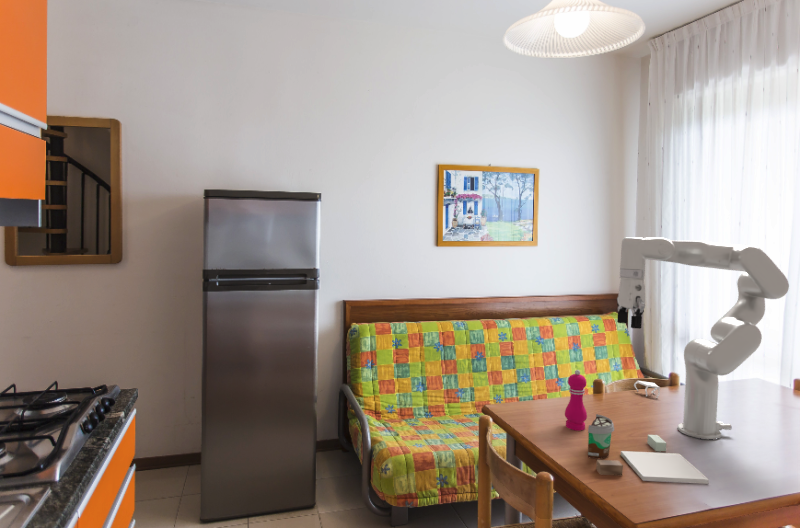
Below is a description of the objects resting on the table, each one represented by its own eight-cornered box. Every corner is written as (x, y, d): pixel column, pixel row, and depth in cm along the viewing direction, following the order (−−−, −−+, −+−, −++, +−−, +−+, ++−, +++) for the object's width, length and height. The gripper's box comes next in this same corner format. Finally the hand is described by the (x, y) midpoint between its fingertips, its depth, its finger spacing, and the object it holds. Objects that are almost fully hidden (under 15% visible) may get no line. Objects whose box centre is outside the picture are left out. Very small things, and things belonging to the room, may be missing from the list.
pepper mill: (588, 432, 168) (590, 373, 167) (565, 430, 169) (567, 371, 168) (584, 424, 175) (587, 368, 174) (563, 422, 176) (565, 366, 175)
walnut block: (618, 471, 140) (618, 460, 140) (622, 476, 137) (622, 465, 137) (596, 470, 141) (596, 459, 141) (599, 475, 138) (600, 464, 138)
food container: (609, 464, 144) (610, 430, 144) (586, 459, 147) (588, 425, 147) (616, 449, 155) (617, 417, 154) (595, 444, 158) (596, 413, 157)
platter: (679, 457, 150) (679, 453, 149) (708, 483, 134) (708, 479, 134) (620, 454, 151) (620, 450, 151) (643, 480, 135) (643, 476, 135)
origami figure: (665, 395, 210) (666, 384, 210) (658, 400, 204) (659, 388, 204) (635, 389, 218) (636, 378, 218) (628, 393, 212) (628, 381, 212)
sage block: (647, 443, 160) (647, 434, 160) (657, 444, 160) (657, 435, 159) (655, 451, 154) (656, 442, 154) (665, 452, 154) (666, 442, 153)
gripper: (656, 277, 158) (653, 330, 159) (630, 273, 175) (627, 321, 176) (633, 276, 158) (629, 330, 159) (609, 272, 175) (606, 320, 176)
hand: (628, 325), depth 168 cm, fingers open, 9 cm apart
